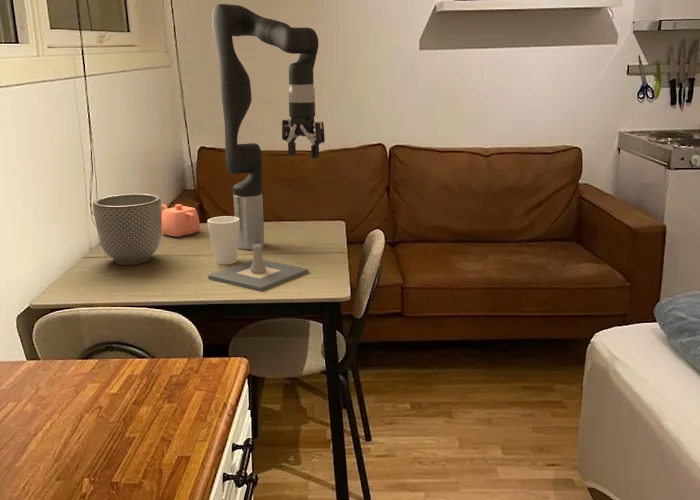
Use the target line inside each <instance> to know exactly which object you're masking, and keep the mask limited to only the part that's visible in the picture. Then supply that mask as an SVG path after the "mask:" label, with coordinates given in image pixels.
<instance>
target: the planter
mask: <svg viewBox="0 0 700 500" xmlns="http://www.w3.org/2000/svg"><path fill="white" fill-rule="evenodd" d="M161 204H162V200H161V197H160V196H159V195H157V194H152V193H120V194H114V195H107V196H104V197H99V198H97V199H95V200H94V201H93V202H92V210H93V216H94V221H95V227H96V231H97V236H98V241H99V243H100V246H101V248H102V250H103V251H104V253H105V254H106V255H107V256H108V257H109V258H111V259H112V260H113V261H114V262H115V263H116V264H117V265H121V266H135V265H140V264H145V263H147V262H149V261H150V260H151V259H152V255H154V254H155V252H156V251H157V250H158V249H159V247H160V245H161V240H162V234H163V233H162V205H161Z"/></svg>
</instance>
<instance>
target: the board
mask: <svg viewBox="0 0 700 500" xmlns="http://www.w3.org/2000/svg"><path fill="white" fill-rule="evenodd" d="M263 262H264V264H265V265H266V267H265V268H266V271H265V272H264V273H260V274H255V273H252V272H251V265H252V263H253V259H251V260H248V261H246V262H243V263H239V264H236V265H234V266H231V267H228V268H224V269H221V270H220V271H216V272H213V273H211V274H208V277H207V278H209V279H208V280H212V279H213V280H212V281H218V282H222V283H225V284H231V285H233V286H234V285H235V286H239V287H242V288H245V289H250V290H253V291H254V290H255V291H259V292H263V291H265V290H268V289H270V288H272V287H275V286H278V285H280V284H282V283H285V282H287V281H290V280H292V279H295V278H297V277H300V276H303V275H305V274H308V273H309V268H306V267H302V266H301V267H300V266H296V265H291V264H286V263H280V262H276V261H271V260H266V259H263Z"/></svg>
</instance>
